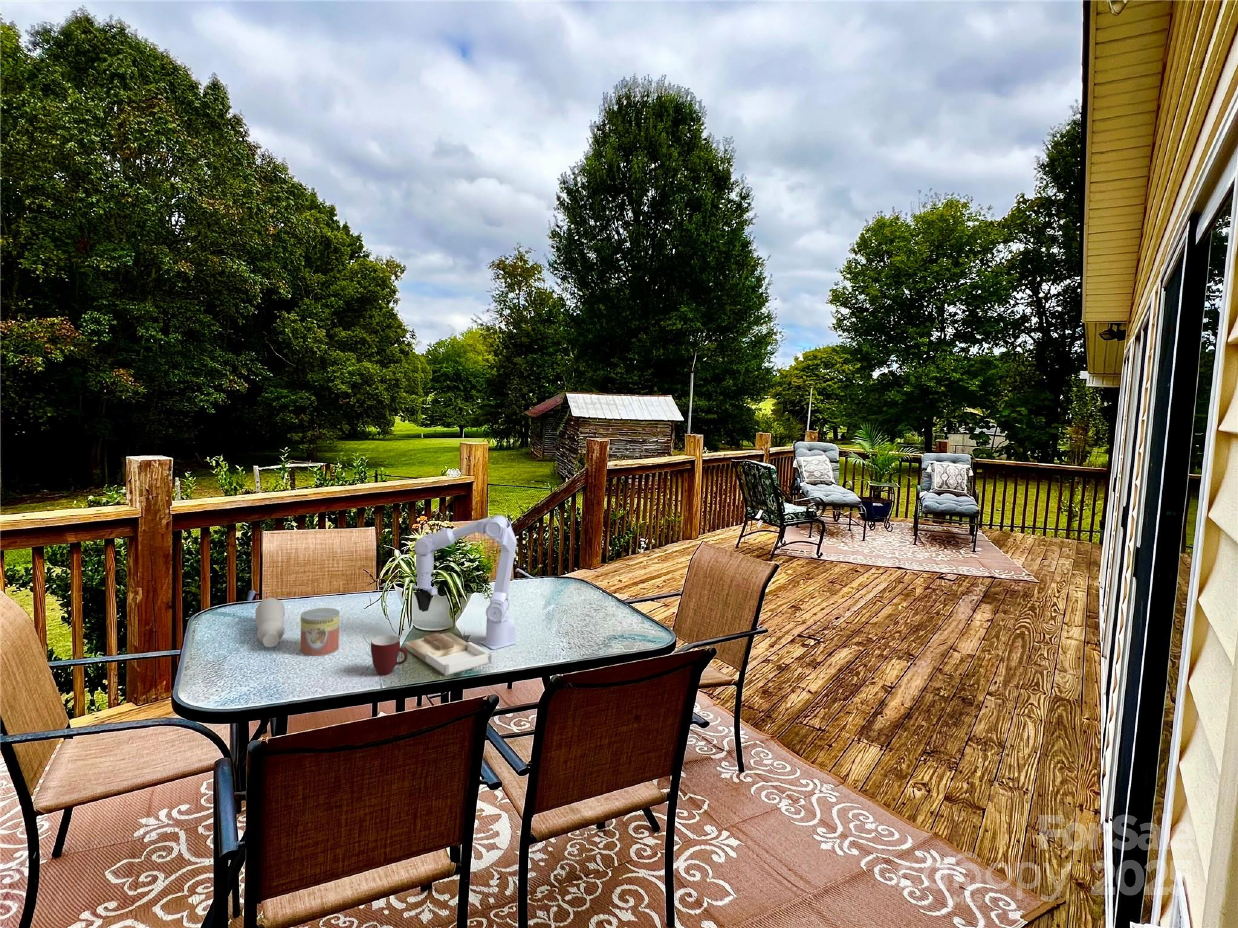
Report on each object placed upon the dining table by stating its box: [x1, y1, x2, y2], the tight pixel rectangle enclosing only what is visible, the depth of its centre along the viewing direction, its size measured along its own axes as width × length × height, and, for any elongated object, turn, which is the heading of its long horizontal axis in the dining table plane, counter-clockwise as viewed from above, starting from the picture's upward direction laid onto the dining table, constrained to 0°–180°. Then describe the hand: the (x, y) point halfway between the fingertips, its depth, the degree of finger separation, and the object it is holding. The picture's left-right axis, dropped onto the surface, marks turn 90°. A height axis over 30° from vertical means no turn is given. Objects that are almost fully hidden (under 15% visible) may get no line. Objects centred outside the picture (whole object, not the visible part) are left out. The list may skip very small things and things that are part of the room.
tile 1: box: [423, 632, 445, 645], centre depth 210 cm, size 5×5×2 cm
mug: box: [370, 634, 409, 676], centre depth 189 cm, size 10×8×10 cm
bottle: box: [255, 597, 286, 648], centre depth 212 cm, size 9×9×30 cm
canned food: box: [299, 607, 340, 657], centre depth 202 cm, size 11×11×12 cm
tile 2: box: [432, 638, 454, 651], centre depth 206 cm, size 5×5×2 cm
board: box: [404, 631, 468, 663], centre depth 209 cm, size 16×14×2 cm
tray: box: [425, 641, 492, 677], centre depth 199 cm, size 16×13×3 cm
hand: (423, 610), depth 215 cm, fingers closed
